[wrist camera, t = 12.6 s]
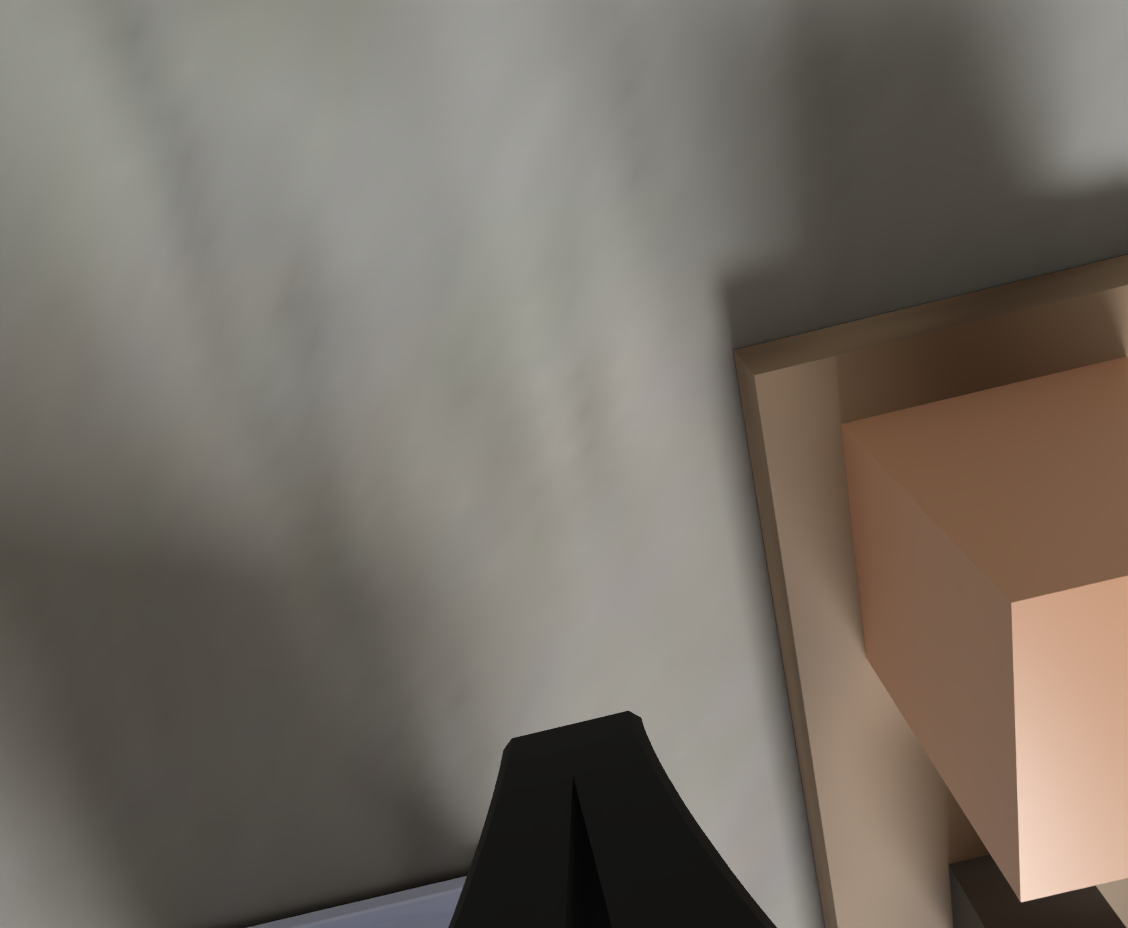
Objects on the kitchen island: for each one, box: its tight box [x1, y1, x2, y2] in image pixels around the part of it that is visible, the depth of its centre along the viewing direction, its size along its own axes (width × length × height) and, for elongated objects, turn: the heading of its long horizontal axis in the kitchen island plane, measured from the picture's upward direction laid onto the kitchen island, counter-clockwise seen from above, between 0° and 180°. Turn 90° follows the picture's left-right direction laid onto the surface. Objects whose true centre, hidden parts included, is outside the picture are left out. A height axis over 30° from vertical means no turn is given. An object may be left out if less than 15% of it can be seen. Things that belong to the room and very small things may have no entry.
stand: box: [733, 254, 1128, 928], centre depth 19 cm, size 8×18×6 cm, turn 13°
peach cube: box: [841, 357, 1128, 902], centre depth 15 cm, size 5×5×6 cm
